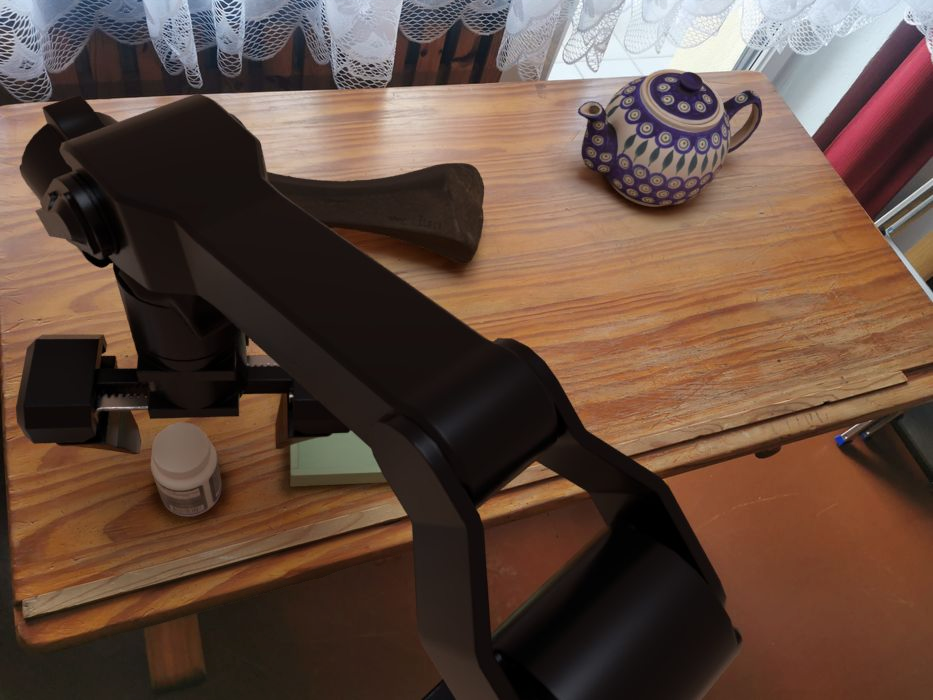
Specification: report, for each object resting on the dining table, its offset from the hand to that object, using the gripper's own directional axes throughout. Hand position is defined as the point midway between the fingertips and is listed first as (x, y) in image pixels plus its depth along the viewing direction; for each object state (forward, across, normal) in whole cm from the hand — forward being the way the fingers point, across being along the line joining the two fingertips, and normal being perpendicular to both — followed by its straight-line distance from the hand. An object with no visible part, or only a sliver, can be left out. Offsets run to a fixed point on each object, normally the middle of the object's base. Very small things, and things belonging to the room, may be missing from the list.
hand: (209, 445), depth 53 cm
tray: (+12, -12, -8) cm, 18 cm away
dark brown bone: (+12, -12, -29) cm, 33 cm away
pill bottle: (+12, +2, -2) cm, 12 cm away
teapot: (+12, -48, -40) cm, 63 cm away
